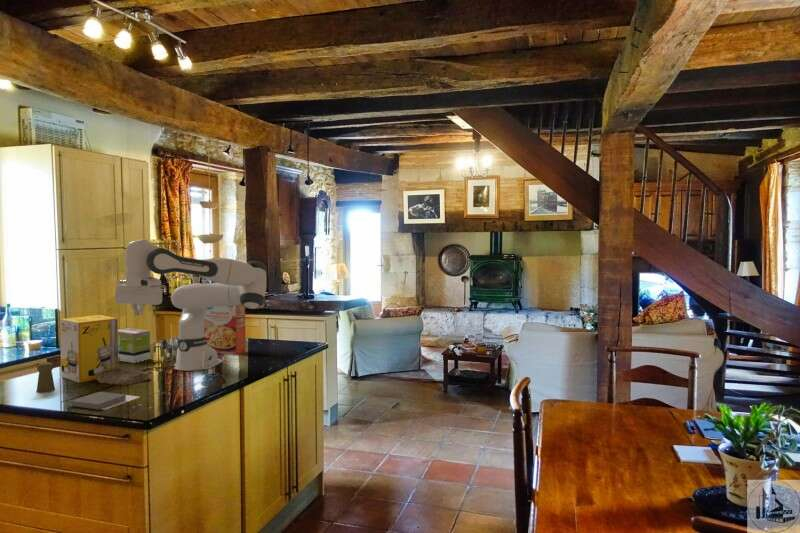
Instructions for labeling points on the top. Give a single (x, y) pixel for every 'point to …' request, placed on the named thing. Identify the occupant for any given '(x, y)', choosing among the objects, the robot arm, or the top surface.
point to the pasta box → (226, 329)
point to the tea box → (133, 345)
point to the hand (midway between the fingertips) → (138, 315)
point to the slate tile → (98, 400)
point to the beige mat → (128, 398)
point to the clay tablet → (122, 376)
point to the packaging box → (88, 347)
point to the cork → (45, 378)
